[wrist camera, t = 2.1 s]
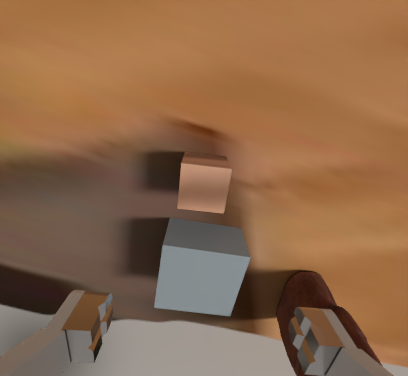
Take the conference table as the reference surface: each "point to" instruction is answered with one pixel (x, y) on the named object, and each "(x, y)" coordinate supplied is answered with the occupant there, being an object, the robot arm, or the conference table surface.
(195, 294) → the slate base block
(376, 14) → the conference table surface
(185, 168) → the terracotta cube
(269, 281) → the conference table surface
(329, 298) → the wooden figurine
